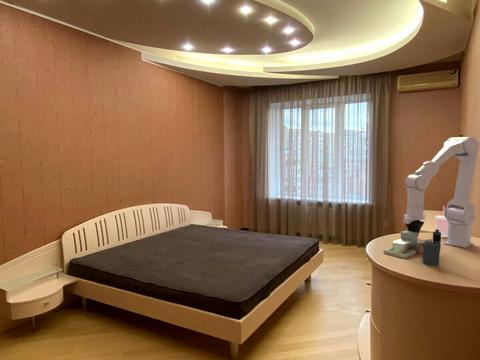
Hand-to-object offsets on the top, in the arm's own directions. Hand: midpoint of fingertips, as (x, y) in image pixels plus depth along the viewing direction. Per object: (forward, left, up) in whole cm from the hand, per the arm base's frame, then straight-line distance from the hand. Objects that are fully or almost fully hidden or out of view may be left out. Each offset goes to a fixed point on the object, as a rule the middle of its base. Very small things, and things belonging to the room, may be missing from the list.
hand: (413, 239), depth 129 cm
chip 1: (+10, 0, -1) cm, 10 cm away
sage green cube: (+4, 0, -2) cm, 4 cm away
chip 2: (+8, 0, -2) cm, 8 cm away
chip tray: (+11, 0, -4) cm, 12 cm away
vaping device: (+14, +12, -4) cm, 19 cm away
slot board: (-1, 0, -4) cm, 4 cm away
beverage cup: (-29, 0, -4) cm, 29 cm away
